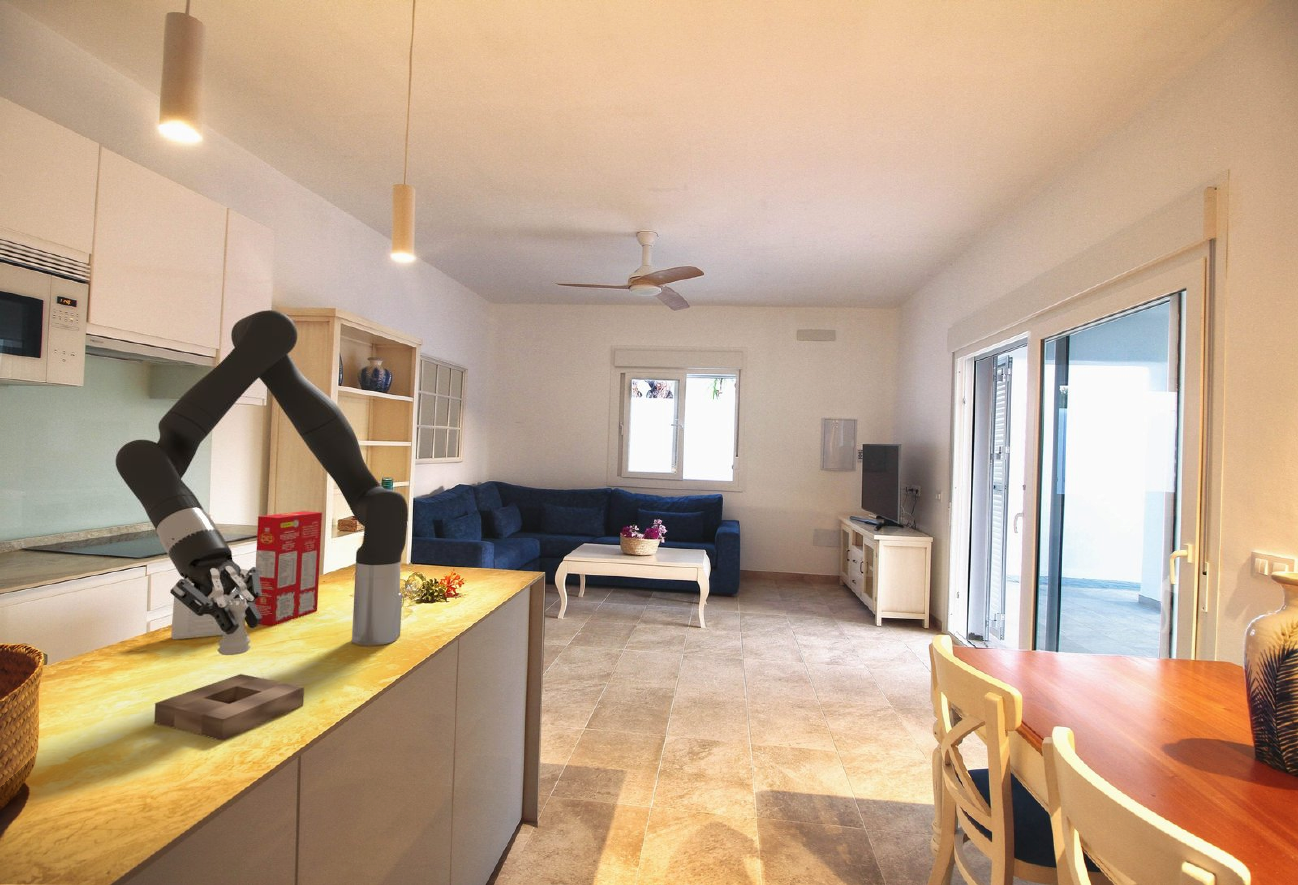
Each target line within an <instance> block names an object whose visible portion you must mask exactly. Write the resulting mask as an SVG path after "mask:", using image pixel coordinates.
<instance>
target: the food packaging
mask: <svg viewBox="0 0 1298 885" xmlns="http://www.w3.org/2000/svg"><path fill="white" fill-rule="evenodd" d="M322 521H323V512H322V511H308V510H307V511H305V510H302V511H294V512H293V511H292V512H285V513H275V514H268V515H267V514H266V515H259V516H257V530H256V531H257V534H256V554H255V567H256V568H257V569H258V571H259V577H260V584H261V591H262V595H261V596H260V597H258V599H257V600H256V601H255V602H254V604H255V606H256V607H257V609H258V611H259V613H260V614H261V616H262V619H261V622H260V623H259V625H258V626H266V627H274V626H278V625H281V624H283V623H287V622H290V621H292V620H291V619H293V620H296V619H298V617H299V618H301V616H302V617H305V616H308V615H310V614H313V613H317V612H318V605H319V604H318V603H319V602H318V600H319V582H320V580H319V579H320V566H321V565H320V564H321V562H320V561H321V560H320V559H321V541H322V526H323V525H322ZM316 611H317V612H316ZM304 615H305V616H304ZM289 620H290V621H289ZM277 624H278V625H277Z"/></svg>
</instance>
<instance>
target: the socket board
mask: <svg viewBox="0 0 1298 885" xmlns="http://www.w3.org/2000/svg"><path fill="white" fill-rule="evenodd" d="M304 699H305V686H301V685H297V684H296V685H295V684H291V683H287V682H282V681H276V680H271V679H268V678H263V677H262V678H261V677H257V676H256V677H255V676H252V675H247V674H243V673H239V674H236V675H234V676H231V677H228V678H225V679H222V680H219V681H217V682H213V683H211V684H207V685H204V686H202V687H201V686H200V687H198V688H195V689H192V690H189V691H187V692H183V693H180V694H178V695H175V696H173V697H169V698H166V699H163V700H161V701H157V702H155V704H154V717H153V718H154V724H157V725H161V726H165V727H169V728H172V727H173V728H172V729H176V728H177V729H176V730H180V731H185V732H188V731H189V733H191V732H193V734H197V735H201V736H203V735H205V736H204V737H207V736H209V737H208V738H211V737H212V738H213V739H215V738H216V740H219V741H225V740H227V739H229V738H231V737H234V736H235V735H239V734H240V733H243V732H245V731H247V730H250V729H252V728H254V727H257V726H259V725H261V724H264V723H266V722H268V721H270V720H273V719H276V718H277V717H280V716H282V715H285V714H287V713H289V712H292V711H294V710H296V709H298V708H300V707H301V708H302V707H303V706H304V701H305V700H304ZM233 735H234V736H233Z"/></svg>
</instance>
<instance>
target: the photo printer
mask: <svg viewBox="0 0 1298 885" xmlns="http://www.w3.org/2000/svg"><path fill="white" fill-rule="evenodd" d="M223 597H224V600H225V603H226V605H227V601H228V600H227V599H226V597H225V596H224V595H223ZM195 602H196V603H198V604H199V605H200V606H201V604H200V603H199V602H198V601H196V600H195ZM217 635H218V636H223V635H224V632H223V631H222V630H221V628H220V626H219V625H218V623H217V622H216V620H215V618H214V617H212V616H210V615H209V614H204V615H203V616H198V615H197V614H195V613H194V612H193V611H192V610H190V609H189V608H188V607H187V606H186V605H184V604H183V603H182V602H181V601H179V600H178V599H177V598H176V597H175V596H173V607H172V621H171V636H170V637H171V639H172V640H182V639H191V638H194V637H195V638H204V637H213V636H215V637H217Z"/></svg>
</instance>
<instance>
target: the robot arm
mask: <svg viewBox="0 0 1298 885" xmlns="http://www.w3.org/2000/svg"><path fill="white" fill-rule="evenodd" d="M230 335H231V336H230V338H231V342H232V345H233V347H234V348H233V349H232V350H231V351H230V353H228V355H227V356H226V357H225V358H223V359H222V361H221V362H219V363H218V365H216V366H215V367H214V368H213V369H212V370H211V371H209V372H208V373H207V374H206V375H205V376H203V377H202V378H201V379H199V381H198V382H196V383H195V384H194V385H192V387H190V388H189V389H188V390H187V391H185V393H184V394H182V396H181V397H180V398H179V399H178V400H177V401H176V402H175V404H173V405H172V406H171V408H170V409H169V410H168V411H167V412H166V413H165V414H164V416H162V418H161V419H160V420H159V422H158V431H159V439H158V441H157V442H156V441H153V440H150V439H135V440H131V441H129V442H127V443H126V444H124V445H122V447H121V448H120V449H119V450H118V451H117V453H116V456H115V466H116V469H117V470H116V471H117V472H118V474H119V476H120V477H121V478H122V480H123V481H124V483H125V485H127V487H128V488H129V490H130V491H131V492H132V493H133V495H134V496H135V497H136V499H137V500H138V501H139V503H140V504H141V505H142V507H143V510H145V511H144V512H146V515H147V517H148V519H149V520H150V522H151V524H152V526H153V528H154V529H155V531H156V533H157V534H158V537H159V540H160V543H161V545H162V547H163V548H164V550H165V551H166V553H167V555H168V557H169V559H170V560H171V562H172V563H173V565H174V567H175V568H176V571H177V572H178V574H179V575H180V577H182V578H180V579H179V580H178V581H177V582H176V584H174V585H173V587H172V588H171V589H170V590H169V592H170V593H169V594H171V595H172V596H173V597H174V596H175V597H176V598H177V599H178V600H179V601H181V602H182V603H183V604H184V605H186V606H187V607H188V608H189V609H190V610H192V611H193V612H194V613H195V614H197V615H198V616H203V615H204V614H209V615H210V616H212V617H214V618H215V620H216V622H217V623H218V625H219V626H220V628H221V630H222V631H223V632H225V633H226V634H227V635H229V634H233V633H234V632H235V631H236V630H237V629H238V627H239V624H238V622H237V621H236V619H235V617H234V616H233V614H232V612H231V611H230V609H229V607H226V608H225V606H226V603H225V600H224V597H223V595H224V596H225V597H226V599H227V600H231V599H235V602H236V601H238V599H241V601H242V600H243V599H246V603H247V604H248V605H249V606H248V608H247V609H246V610H245V614H246V615H247V616H246V617H245V624H247V626H248V628H250V629H254V628H257V627H258V626H260V625H259V623H260V622H261V619H262V616H261V614H260V613H259V611H258V609H257V607H256V606H255V604H254V602H255V601H256V600H257V599H258V597H260V596H261V595H262V591H261V584H260V577H259V571H258V569H257V568H256V566H253V567H251V568H250V569H246V568H245V569H243V568H241V567H240V565H238V564H237V563H235V561H233V560H234V559H233V555H232V554H233V552H232V550H231V548H230V546H229V545H228V543H227V541H226V540H225V538H224V537H223V535H222V534H221V531H220V530H219V528H218V527H217V526H216V524H215V522H214V520H213V519H212V518H211V517H210V516H209V514H208V513H207V512H206V510H204V507H202V503H200V502H199V500H198V498H197V496H196V495H195V493H194V492H193V491H192V490H191V489H190V488H189V487H188V486H187V485H186V483H185V482H184V481H183V480H182V478H183V477H184V475H185V474H186V472H187V471H188V468H189V467H190V465H191V463H192V461H193V459H194V457H195V456H196V453H197V452H198V449H199V447H200V444H201V443H202V442H203V441H204V439H206V438H207V436H208V435H209V434H210V433H211V432H212V431H213V430H214V429H215V427H216V426H217V425H218V424H219V422H220V421H221V420H222V419H223V418H224V417H225V416H226V414H227V413H228V412H229V410H230V409H232V407H233V406H234V405H235V404H236V402H237V401H238V400H239V399H240V398H241V397H242V396H243V394H244V393H245V392H246V391H248V389H250V387H251V385H253V384H254V383H255V382H256V381H257V380H258V379H260V381H261V382H262V383H263V384H264V385H265V387H266V388H267V389H268V390H269V392H270V394H272V395H271V396H273V398H274V399H275V401H276V402H277V404H278V405H279V406H280V409H281V410H282V411H283V412H284V414H285V415H286V417H287V419H288V420H289V421H290V422H291V424H292V425H293V427H294V428H295V431H296V432H297V434H298V435H299V436H300V437H301V439H302V441H303V442H304V443H305V445H306V446H307V447H308V449H309V450H310V451H311V453H312V454H313V456H314V457H315V458H316V459H317V461H318V462H319V463H320V465H321V466H322V468H323V469H324V470H325V471H326V473H327V474H328V475H329V476H330V477H331V479H332V480H333V481H334V482H335V484H336V485H337V487H338V488H339V490H340V492H341V494H342V496H343V498H344V500H345V502H346V503H347V505H348V507H349V509H350V511H351V513H352V515H353V516H354V517H355V520H356V521H357V522H358V523H359V524H360V525H362V526H363V527H364V529H363V540H362V544H361V546H360V547H358V548H357V550H356V552H355V553H356V554H355V570H354V571H355V572H354V573H355V574H354V590H353V592H354V593H353V594H354V595H353V612H352V629H351V630H352V631H351V632H352V633H351V634H352V635H351V643H353V644H355V645H360V646H367V647H368V646H369V647H370V646H380V645H386V644H390V643H393V642H395V641H397V640H398V637H401V630H402V628H401V627H402V605H403V604H402V603H403V594H402V593H400V591H401V589H400V588H401V567H402V555H403V551H404V550H405V547H406V540H407V531H408V521H409V520H408V516H409V508H408V504H407V501H406V498H405V497H404V496H403V495H402V494H401V493H400V492H398V491H396V490H393V489H389V488H384V487H383V485H381V483H380V482H379V481H378V480H377V479H376V478H375V476H374V475H373V473H372V472H371V470H370V469H369V467H368V465H367V464H366V462H365V460H364V457H363V455H362V450H361V448H360V444H359V441H358V438H357V436H356V433H355V431H354V429H353V427H352V426H351V424H350V423H349V421H348V419H347V417H346V416H345V415H344V413H343V412H342V410H341V409H340V408H339V407H340V406H338V404H336V402H334V401H333V399H332V398H330V397H329V396H328V395H327V394H326V393H325V392H324V391H322V390H321V389H320V388H318V387H317V386H316V385H314V384H313V383H312V382H311V381H310V380H309V379H308V378H306V377H305V376H304V374H303V373H302V372H301V371H300V370H299V368H298V367H297V366H296V363H295V362H294V361H293V359H292V357H291V356H290V354H289V353H291V352H292V350H293V349H294V348H295V346H296V344H297V343H298V342H297V341H298V329H297V327H296V325H295V322H294V321H293V320H292V318H290V317H289V316H288V315H286V314H285V313H283V312H281V311H277V310H273V309H272V310H270V309H269V310H261V311H257V312H255V313H252V314H250V315H247V316H245V317H243V318H241V319H240V320H238V321H237V322H235V324H234V325H233V327H232V328H231V334H230ZM195 600H196V601H198V602H199V603H200V604H201V606H200V605H199V604H198V603H196V602H195Z"/></svg>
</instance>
